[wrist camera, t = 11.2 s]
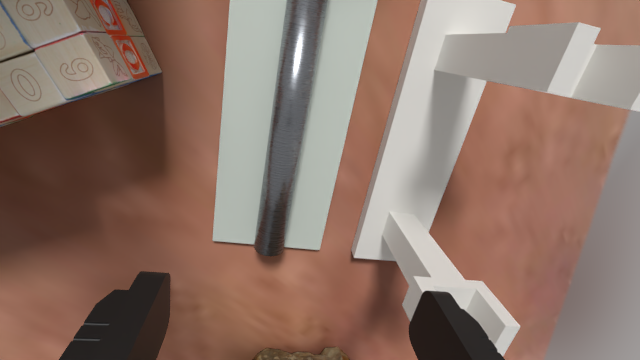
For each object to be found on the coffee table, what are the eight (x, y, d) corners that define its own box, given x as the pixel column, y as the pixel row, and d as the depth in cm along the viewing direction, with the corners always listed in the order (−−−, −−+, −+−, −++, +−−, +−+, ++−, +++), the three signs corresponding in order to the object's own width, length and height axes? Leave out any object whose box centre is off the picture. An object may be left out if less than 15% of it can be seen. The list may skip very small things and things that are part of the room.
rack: (351, 249, 38) (398, 387, 23) (425, -15, 27) (605, -82, 12) (412, 255, 39) (494, 387, 24) (504, 6, 29) (752, -30, 14)
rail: (280, 237, 36) (286, 255, 33) (252, 238, 34) (256, 256, 32) (325, -28, 26) (340, -34, 23) (287, -40, 24) (298, -48, 22)
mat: (213, 237, 35) (212, 240, 34) (235, -66, 24) (235, -69, 24) (318, 247, 37) (319, 250, 37) (381, -27, 26) (383, -28, 26)
